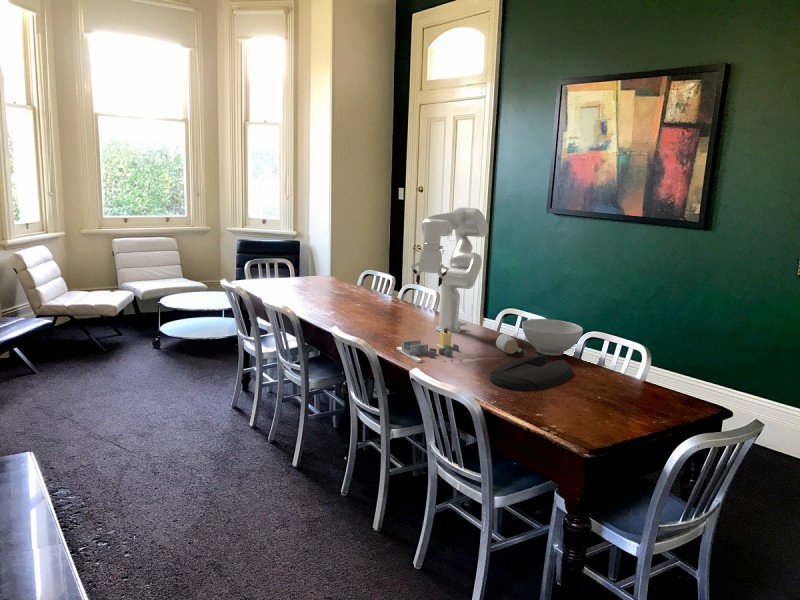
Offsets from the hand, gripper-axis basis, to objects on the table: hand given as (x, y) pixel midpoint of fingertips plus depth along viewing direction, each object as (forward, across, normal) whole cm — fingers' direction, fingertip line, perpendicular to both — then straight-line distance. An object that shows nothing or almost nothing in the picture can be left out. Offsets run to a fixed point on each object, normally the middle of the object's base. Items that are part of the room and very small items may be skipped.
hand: (428, 285), depth 280 cm
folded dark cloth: (+28, -47, +36) cm, 65 cm away
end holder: (+26, +1, +21) cm, 34 cm away
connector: (+26, -10, +7) cm, 28 cm away
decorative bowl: (+26, -57, -4) cm, 63 cm away
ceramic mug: (+27, -39, +3) cm, 47 cm away
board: (+27, -6, +17) cm, 33 cm away
